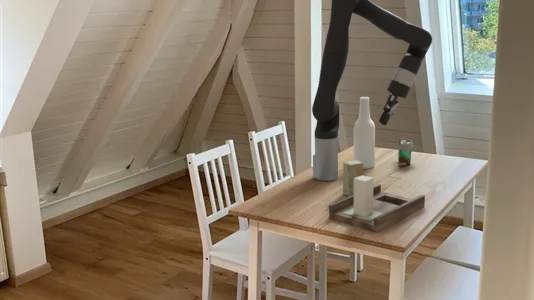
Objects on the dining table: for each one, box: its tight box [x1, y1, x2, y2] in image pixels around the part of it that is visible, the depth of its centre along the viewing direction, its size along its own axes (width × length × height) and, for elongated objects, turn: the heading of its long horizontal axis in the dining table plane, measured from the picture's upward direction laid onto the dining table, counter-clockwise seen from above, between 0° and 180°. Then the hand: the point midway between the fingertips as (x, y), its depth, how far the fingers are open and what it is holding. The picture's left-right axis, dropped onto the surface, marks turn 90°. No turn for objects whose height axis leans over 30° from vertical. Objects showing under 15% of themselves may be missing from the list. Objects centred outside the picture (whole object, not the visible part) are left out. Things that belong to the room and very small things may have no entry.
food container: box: [397, 137, 414, 168], centre depth 243 cm, size 12×6×10 cm, turn 168°
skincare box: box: [342, 160, 364, 197], centre depth 208 cm, size 6×4×12 cm
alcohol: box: [353, 96, 376, 170], centre depth 239 cm, size 9×9×30 cm
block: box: [354, 174, 375, 217], centre depth 183 cm, size 4×4×12 cm
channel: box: [328, 183, 426, 233], centre depth 190 cm, size 19×28×4 cm
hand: (382, 123), depth 206 cm, fingers open, 8 cm apart
